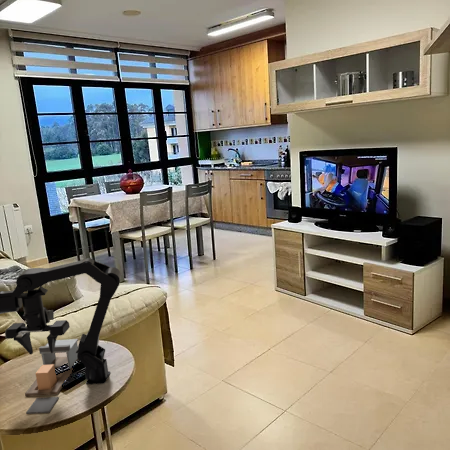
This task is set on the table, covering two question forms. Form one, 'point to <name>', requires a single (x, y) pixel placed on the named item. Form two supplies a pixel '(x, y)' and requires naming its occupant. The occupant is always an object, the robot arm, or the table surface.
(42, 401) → the mat
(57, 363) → the puzzle board
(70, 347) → the cover
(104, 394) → the table surface
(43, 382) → the block
